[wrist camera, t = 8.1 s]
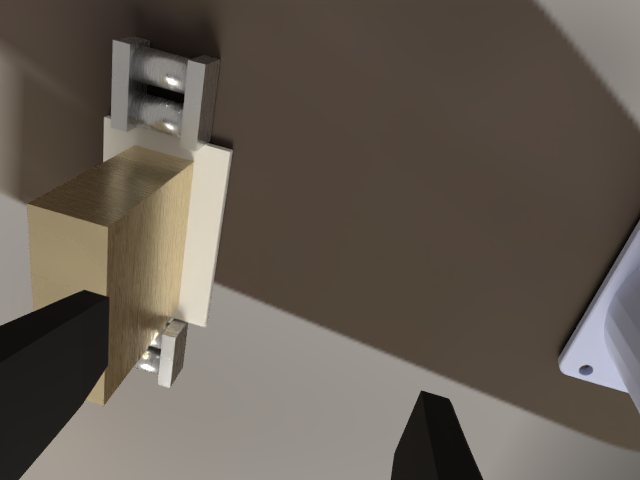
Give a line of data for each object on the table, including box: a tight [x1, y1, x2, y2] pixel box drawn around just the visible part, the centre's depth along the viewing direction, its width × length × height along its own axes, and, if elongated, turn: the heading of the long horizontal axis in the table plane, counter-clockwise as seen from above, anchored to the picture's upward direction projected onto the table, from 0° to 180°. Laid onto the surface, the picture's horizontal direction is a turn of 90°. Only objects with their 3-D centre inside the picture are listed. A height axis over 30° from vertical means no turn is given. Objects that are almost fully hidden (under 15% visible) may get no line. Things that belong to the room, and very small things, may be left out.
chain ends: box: [111, 36, 220, 388], centre depth 20 cm, size 3×15×1 cm, turn 167°
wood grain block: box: [27, 145, 194, 406], centre depth 18 cm, size 2×7×6 cm, turn 167°
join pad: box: [103, 115, 233, 327], centre depth 21 cm, size 5×8×1 cm, turn 167°
